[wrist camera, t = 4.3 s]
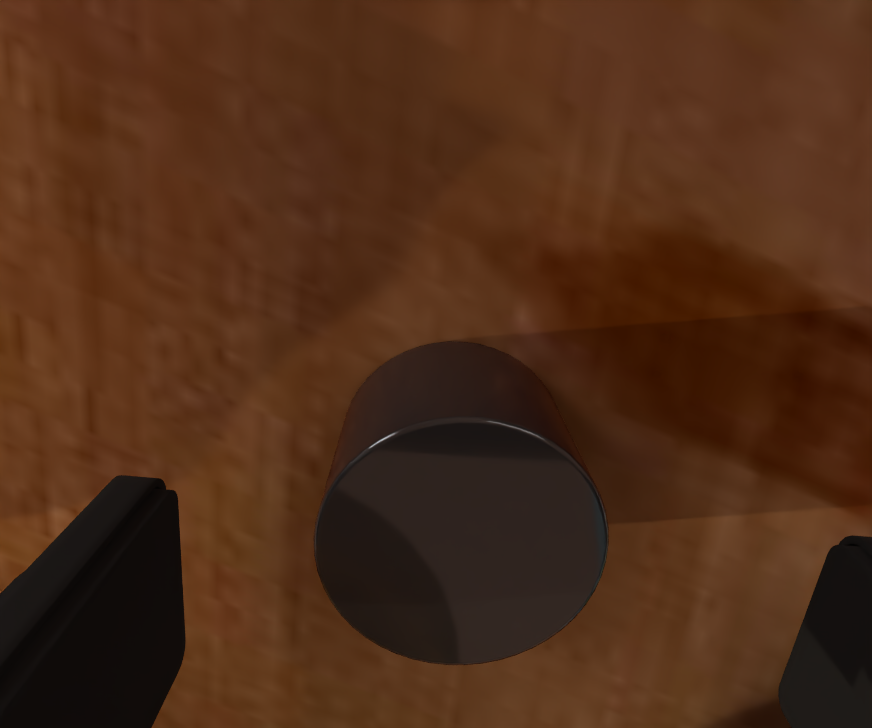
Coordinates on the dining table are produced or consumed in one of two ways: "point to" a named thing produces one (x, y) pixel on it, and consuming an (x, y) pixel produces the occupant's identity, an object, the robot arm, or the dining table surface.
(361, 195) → the dining table surface
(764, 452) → the dining table surface
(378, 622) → the shiny metal cylinder
